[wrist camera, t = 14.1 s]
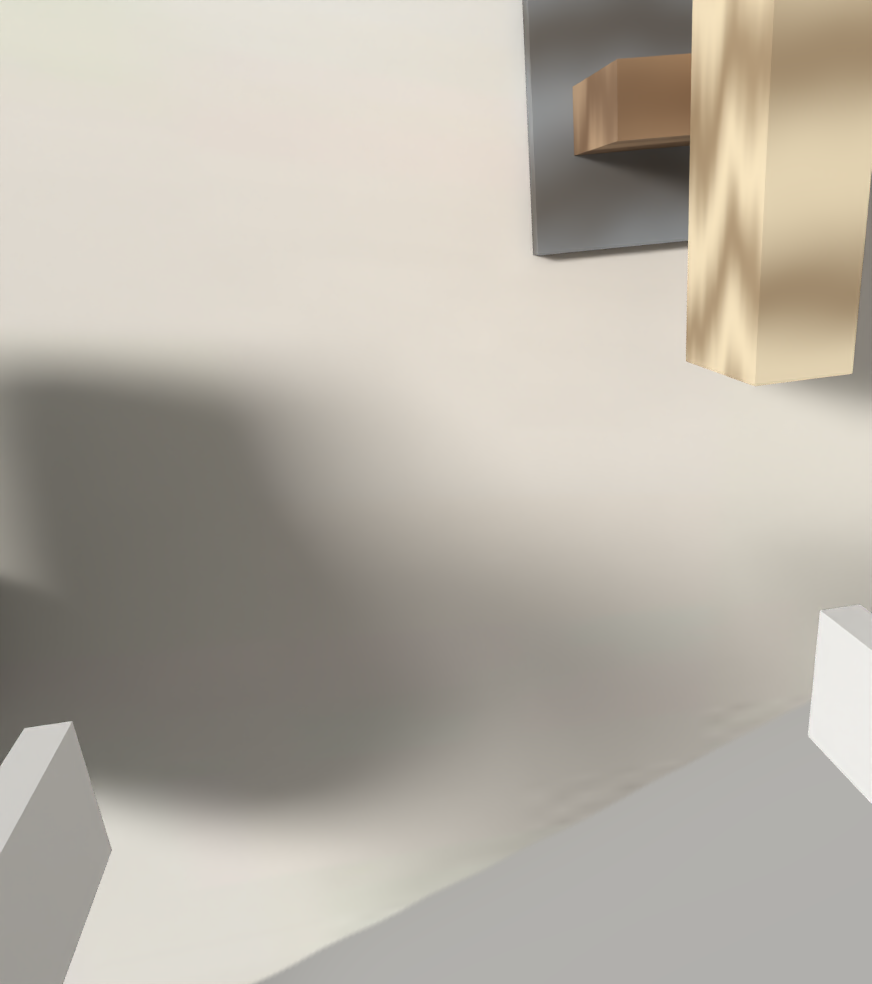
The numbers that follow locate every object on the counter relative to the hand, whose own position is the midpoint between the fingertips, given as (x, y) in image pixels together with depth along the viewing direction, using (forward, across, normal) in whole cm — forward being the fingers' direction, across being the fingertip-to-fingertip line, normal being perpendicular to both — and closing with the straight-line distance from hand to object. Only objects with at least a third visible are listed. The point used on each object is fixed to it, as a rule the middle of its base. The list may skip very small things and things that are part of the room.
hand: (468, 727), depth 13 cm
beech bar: (+22, +16, +12) cm, 30 cm away
